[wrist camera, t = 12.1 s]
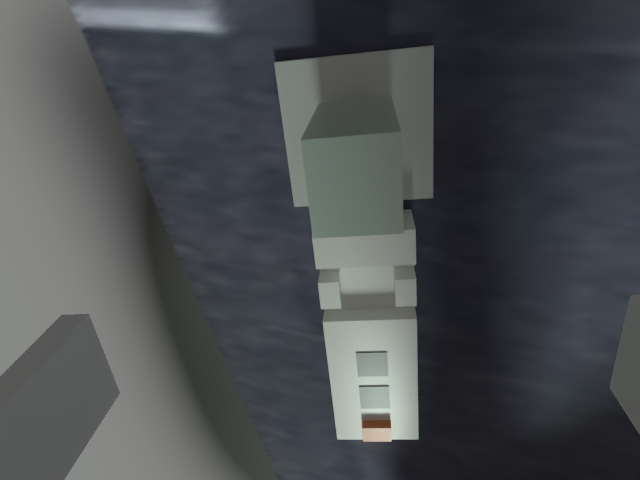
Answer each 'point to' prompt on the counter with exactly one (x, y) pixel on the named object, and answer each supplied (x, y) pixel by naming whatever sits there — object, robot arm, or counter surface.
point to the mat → (363, 83)
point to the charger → (354, 169)
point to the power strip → (371, 332)
